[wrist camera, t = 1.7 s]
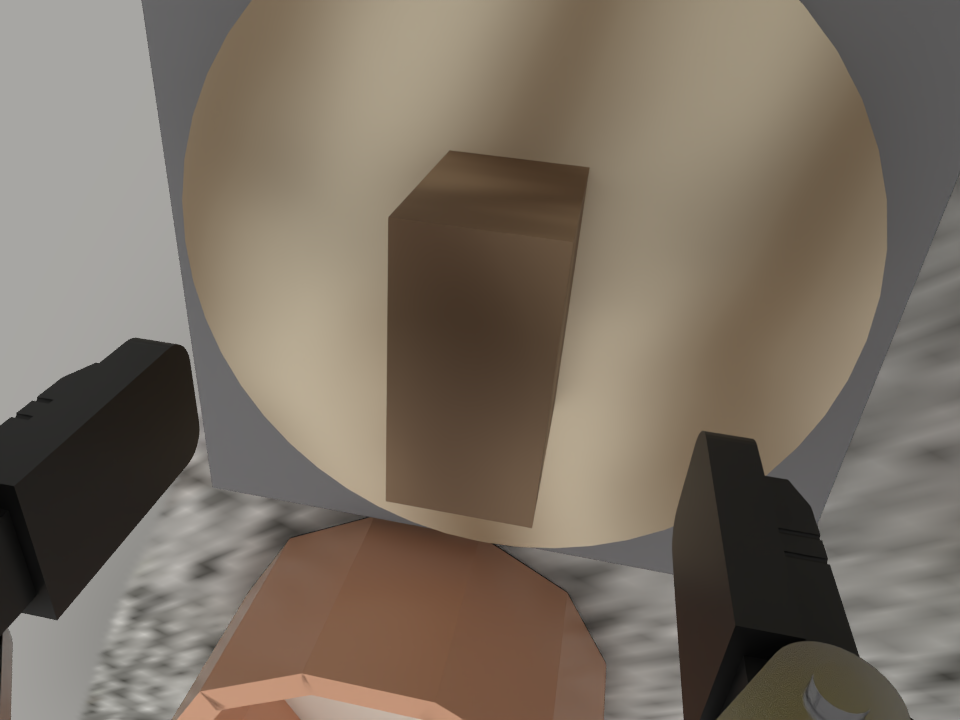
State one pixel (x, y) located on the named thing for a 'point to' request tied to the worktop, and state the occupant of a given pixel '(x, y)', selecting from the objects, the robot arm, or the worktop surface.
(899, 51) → the mat
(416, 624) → the bowl
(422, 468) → the lid
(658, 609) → the worktop surface
